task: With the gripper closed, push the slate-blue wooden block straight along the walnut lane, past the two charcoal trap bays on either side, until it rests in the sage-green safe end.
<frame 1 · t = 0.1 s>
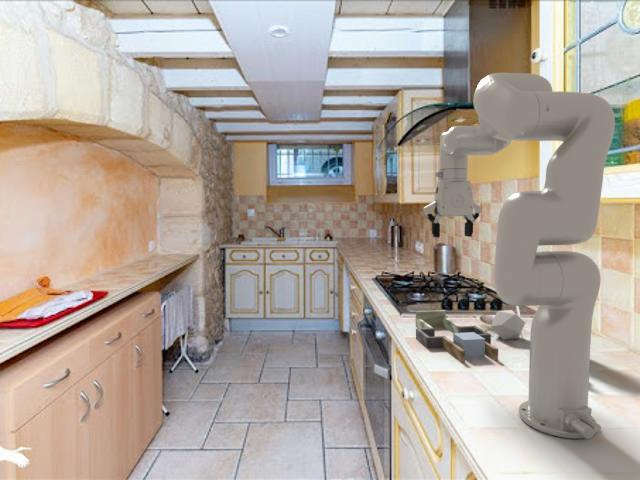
hand: (452, 236, 119), 31 cm above the counter, tool pointing down, fingers open, 9 cm apart
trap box: (452, 341, 123), on the counter
grey faceted solid: (507, 338, 126), on the counter
block: (468, 353, 113), on the counter
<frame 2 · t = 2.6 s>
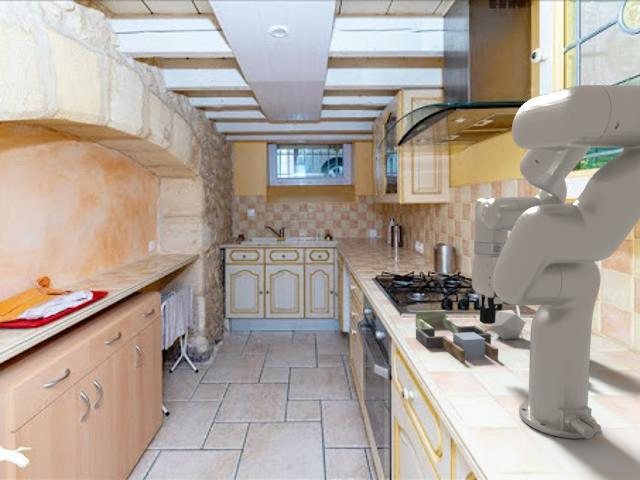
hand: (487, 322, 103), 11 cm above the counter, tool pointing down, fingers closed
nothing on the counter moved.
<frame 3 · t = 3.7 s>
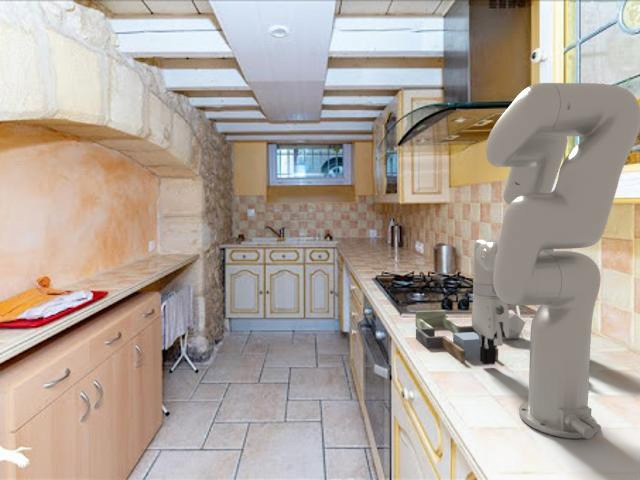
hand: (487, 362, 103), 1 cm above the counter, tool pointing down, fingers closed
nothing on the counter moved.
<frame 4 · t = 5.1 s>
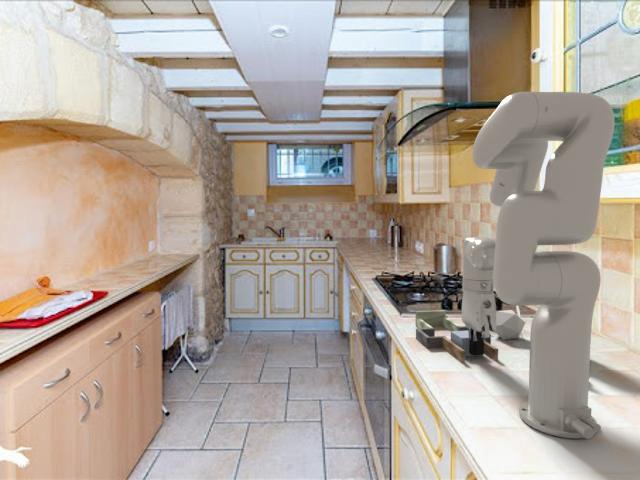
hand: (476, 354, 109), 1 cm above the counter, tool pointing down, fingers closed
block: (465, 351, 114), on the counter, touching gripper
everything else where it was.
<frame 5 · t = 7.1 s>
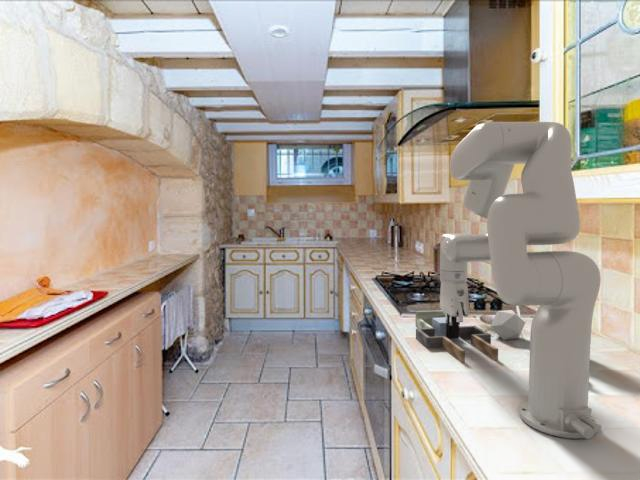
hand: (452, 337, 123), 1 cm above the counter, tool pointing down, fingers closed
block: (444, 335, 128), on the counter, touching gripper
everything else where it was.
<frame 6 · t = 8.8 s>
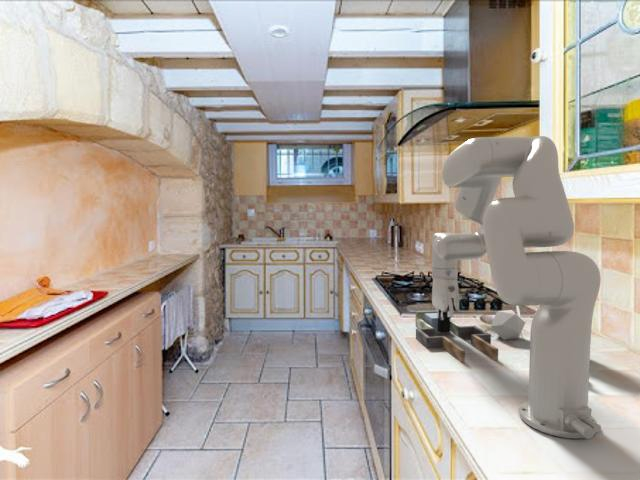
hand: (443, 331, 129), 1 cm above the counter, tool pointing down, fingers closed
block: (436, 330, 134), on the counter
everything else where it was.
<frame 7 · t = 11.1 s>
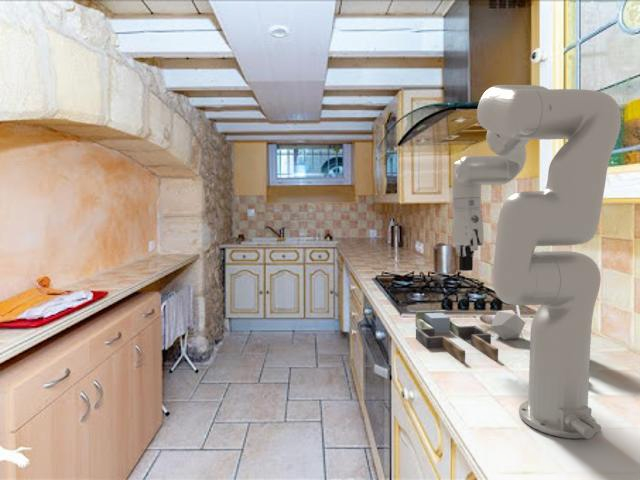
hand: (465, 270, 118), 22 cm above the counter, tool pointing down, fingers closed
nothing on the counter moved.
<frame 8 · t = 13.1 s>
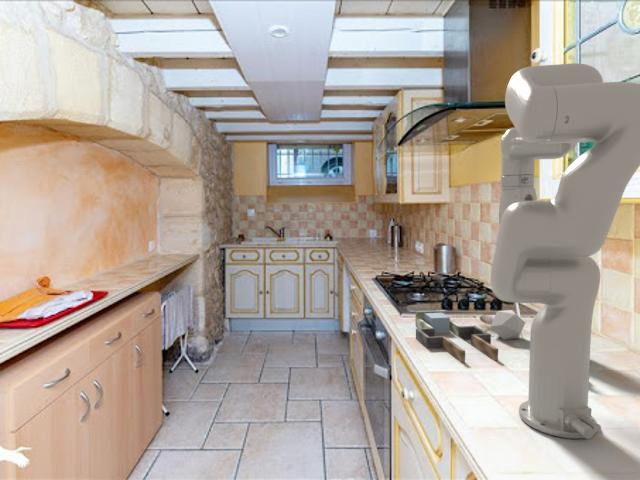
hand: (515, 255, 106), 27 cm above the counter, tool pointing down, fingers closed
nothing on the counter moved.
at the end: block 1.3 cm from the target spot, on the counter; block tilted 0°; block moved 21.5 cm from its start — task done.
